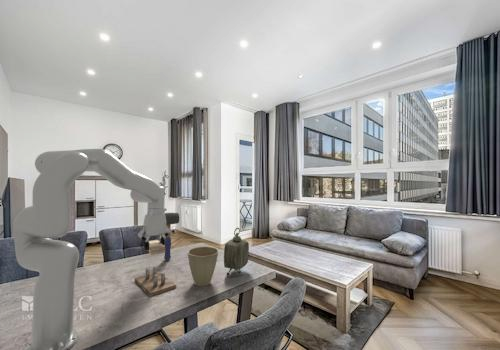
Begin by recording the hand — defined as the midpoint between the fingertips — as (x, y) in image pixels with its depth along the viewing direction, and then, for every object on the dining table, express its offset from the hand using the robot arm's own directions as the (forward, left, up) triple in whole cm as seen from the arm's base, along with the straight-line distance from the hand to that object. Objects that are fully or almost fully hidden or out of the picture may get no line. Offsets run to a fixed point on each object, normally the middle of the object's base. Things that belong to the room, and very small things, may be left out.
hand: (154, 247), depth 111 cm
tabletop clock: (-16, -40, -18) cm, 46 cm away
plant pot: (-14, -19, -18) cm, 30 cm away
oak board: (0, 0, -1) cm, 1 cm away
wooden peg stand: (0, -1, -18) cm, 18 cm away
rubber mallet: (+28, -20, -18) cm, 39 cm away
